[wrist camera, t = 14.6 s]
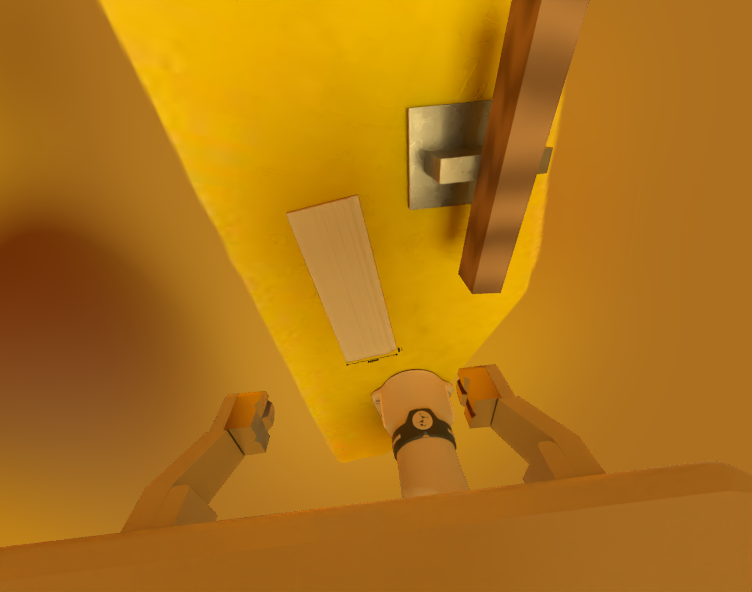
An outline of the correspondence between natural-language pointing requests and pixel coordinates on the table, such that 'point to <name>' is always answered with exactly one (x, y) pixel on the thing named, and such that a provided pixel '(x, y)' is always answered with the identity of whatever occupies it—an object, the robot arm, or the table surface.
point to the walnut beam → (517, 132)
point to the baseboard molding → (345, 275)
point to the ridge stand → (448, 153)
